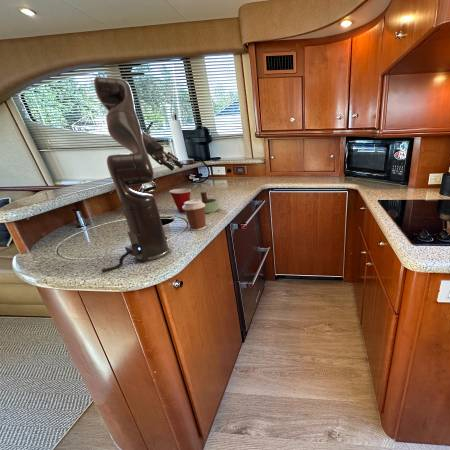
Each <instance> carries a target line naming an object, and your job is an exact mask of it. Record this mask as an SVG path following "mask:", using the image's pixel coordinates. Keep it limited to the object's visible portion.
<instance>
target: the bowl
mask: <svg viewBox="0 0 450 450" xmlns="http://www.w3.org/2000/svg"><path fill="white" fill-rule="evenodd" d="M208 199H209V203H205V207H204V212H205V215H206V214H211V213H215V212H217V211H218V210H220V206H219V201H218V200H219V199H217V198H213V197H211V198H208Z"/></svg>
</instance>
